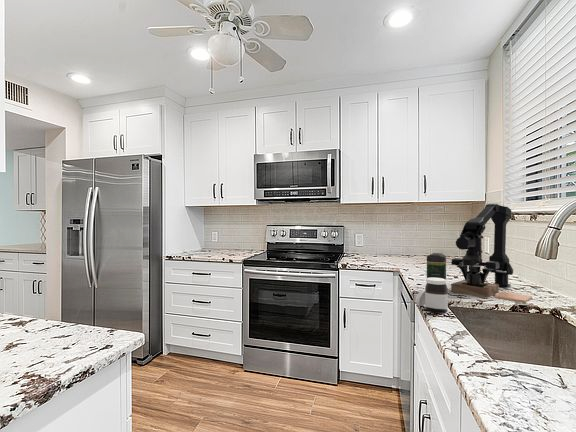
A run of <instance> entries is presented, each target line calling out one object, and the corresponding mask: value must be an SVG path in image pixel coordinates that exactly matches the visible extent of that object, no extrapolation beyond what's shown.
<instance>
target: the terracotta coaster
mask: <svg viewBox="0 0 576 432" xmlns="http://www.w3.org/2000/svg"><path fill="white" fill-rule="evenodd" d="M493 298H494V299H495V298H496V299H499V300H500V299H501V300H506V301H512V300H513V302H518V301H519V302H520V303H524V302H526V303H527V302H529V301H531V300H532V299H533V296H532V295H527V294H521V293H512V292H508V291H507V292H506V291H501V292H498V293H496V294H494V295H493ZM528 300H529V301H528Z"/></svg>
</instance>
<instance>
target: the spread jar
mask: <svg viewBox="0 0 576 432" xmlns="http://www.w3.org/2000/svg"><path fill="white" fill-rule="evenodd" d="M425 280H426V282H425V283H426V284H425V287H424V288H422V289H421V290H420V291H419V292H418V293H417V296H416V298H415V303H416V304H417V305H418V306H420V307H421V306H422V307H423V306H424V305H425V309H426V311H429V312H432V313H439V314H440V313H441V314H442V313H446V312H448V308H449V307H448V306H449V295H448V294H449V293H448V292H449V291H448V286H447V278H446V279H443V278H427V277H426V279H425Z"/></svg>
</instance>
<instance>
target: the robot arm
mask: <svg viewBox="0 0 576 432" xmlns="http://www.w3.org/2000/svg"><path fill="white" fill-rule="evenodd" d="M511 215H512V209H511V208H510V207H509V206H505V205H501V204H497V203H487V204H486V205H485V206H484V208H483V209H482V210H481V212H479V213H478V214H477V215H476V217H474V218H470V219H469V220H468V221H466V222H465V223H464V225H463V228H462V230H461V233H460V235H459V237H458V238H456V241H455V246H456V248H458V250H462V251H464V250H466V251H465V252H466V253H465V255H463V257H462V258H460V257H456V258H453V259H451V262H450V263H451V266H456V267H457V268H459V270H460V271H461V273H462V275H463V278H464V280H465V281H466V273H467V272H468V271H469V266H475V265H476V266H480V267H483V268H481V269H482V271H481V272H482V273H483V276H482V283H486V280H487V278H488V276H489V274H490V273H493V274H494V283H493V284H499V287H502V288H503V287H504V288H508V287H511V286H512V284H510V283H509V276H510V275H513V274H514V268H513V266H512V265H511V263H510V258H509V256H508V255H507V254H506V247H507V246H506V245H507V243H506V242H507V241H506V240H507V224H508V223H509V221H510V220H511ZM489 220H491V221H492V222H493V224H494V231H493V235H494V236H493V237H494V239H493V253H492V254H491V255H489V257H488V258H489V259H488V261H483V259H482V258H483V257H482V255H483V254H482V253H483V250H482V245H483V243H482V239H484V236H483V235H482V234H484V232H485V229H486V224H487V223H488V222H489Z"/></svg>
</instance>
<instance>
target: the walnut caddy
mask: <svg viewBox="0 0 576 432" xmlns="http://www.w3.org/2000/svg"><path fill="white" fill-rule="evenodd" d="M483 286H484V287H477V286H470V285H467V282H466V281H465V279H462V280H460V281H456V282H453V283H451V284H450V289H451V290H450V291H451V292H452V293H457V292H458V293H457V294H463V293H465V294H464V295H469V294H470V295H469V296H475V295H476V296H477V297H483V298H489V297H492V296H495V295H497V294H499V293H500V286H499V284H494V283H492V282H491V283H490V282H484V283H483ZM476 296H475V297H476Z"/></svg>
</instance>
